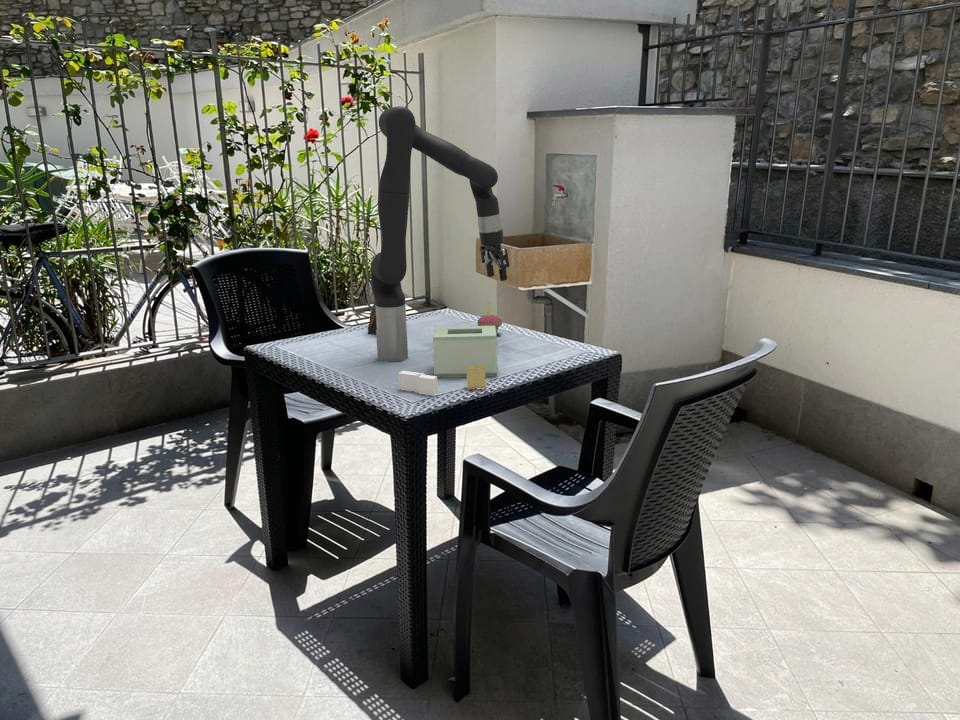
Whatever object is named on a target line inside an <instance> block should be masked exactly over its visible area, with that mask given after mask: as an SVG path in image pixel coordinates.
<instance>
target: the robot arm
mask: <svg viewBox="0 0 960 720" xmlns="http://www.w3.org/2000/svg"><path fill="white" fill-rule="evenodd" d="M378 127H379V130H380V132H381V133H382V135H383V136H385V138H386V155H385V161H384V165H383V168H382V171H381V175H380V179H379V182H378V190H377V191H378V192H377V213H378V220H379V224H380V225H379V226H380V230H381V248H380V252H378V253H377V254H375V255H374V257H373V258H372V261H371V263H370V264H371V265H370V276H371V277H370V278H371V288H372V294H373V298H374V299H375V306H376V322H377V330H376V335H375V338H376V353H377V361H378V362H380V361H381V362H387V363H388V362H389V363H391V362H392V363H395V362H400V361H401V362H402V361H405V360H407V359H408V358H409V348H408V347H409V345H408V330H407V329H408V328H407V327H408V326H407V309H406V308H407V306H406V295H405V293H404V291H403V288H402V281H403V280H404V278H405V277H406V274H407V268H408V265H407V228H408V219H409V218H408V217H409V207H410V192H411V190H410V188H411V186H410V185H411V184H410V183H411V164H412V163H411V162H412V161H411V160H412V159H411V158H412V151H413V150H412V149H414V150H416V151H418V152H420V153H422V154H424V155H425V156H427V157H429V158H430V159H432V160H433V161H435V162H436V163H438V164H439V165H441V166H442V167H445V168H446V169H448V170H449V171H451V172H453V173H454V174H456V175H459V176H462V177H465V178H466V179H468V180H469V185H470V186H469V187H470V189H471V192H472V195H473V198H474V201H475V206H476V207H475V208H476V214H477V215H476V216H477V226H478V227H477V228H478V234H479V242H480V246H479V249H480V259H481V263H482V264H484V266H485V267H486V275H487V277H488V278H491V277H492V278H493V277H494V276H495V270H494V265H496V266H497V269H498V274H499V281H501V282H504V281H507V280H508V275H507V268H509V267H510V261H509V255H508V253H509V252H508V249H507V247H506V248H502V243H504V242H505V237H504V231H503V230H504V229H503V223H502V217H501V213H500V207H499V201H498V200H499V199H498V197H497V196H496V195H495V194H494V192H493V187H495V186H496V185H497V184H498V181H499V175H498V171H497V170H496V169H495V167H493V166H492V165H490V164H489V163H487V162H485V161H483V160H480V159H478V158H477V157H475V156H472V155H470V154H469V153H467V152H466V151H464V150H463V149H461V148H460V147H459V146H457V145H455V144H454V143H451V142H449V141H447V140H445V139H443V138H441V137H439V136H436V135H435V134H432V133H430V132H428V131H427V130H425V129H423V128H421V127H420V126H419V125H417V123H416V118H415V115H414V113H413V112H412V111H411V110H410V109H409V108H408V107H406V106H404V105H403V106H401V105H399V106H393V107H389V108H386V109H385V110H384V111H382V113H381V114H380V116H379V118H378ZM493 263H494V265H493Z"/></svg>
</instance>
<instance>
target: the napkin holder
mask: <svg viewBox="0 0 960 720" xmlns="http://www.w3.org/2000/svg"><path fill="white" fill-rule="evenodd" d="M397 374H398V389H399V391H403V390H408V391H407V392H411V391H415V392H414V393H418V392H419V395H421V394H428V395H435V394H437V393H438V394H439V389H438V388H439V386H438V385H439V384H438V382H439V381H438V378H437V376H435V375H427V374H425V373H424V372H416V371H415V372H414V371H408V370H401V371H400V372H398V373H397ZM400 389H401V390H400ZM438 394H437V395H438ZM428 395H427V396H428ZM435 396H436V395H435Z"/></svg>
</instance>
